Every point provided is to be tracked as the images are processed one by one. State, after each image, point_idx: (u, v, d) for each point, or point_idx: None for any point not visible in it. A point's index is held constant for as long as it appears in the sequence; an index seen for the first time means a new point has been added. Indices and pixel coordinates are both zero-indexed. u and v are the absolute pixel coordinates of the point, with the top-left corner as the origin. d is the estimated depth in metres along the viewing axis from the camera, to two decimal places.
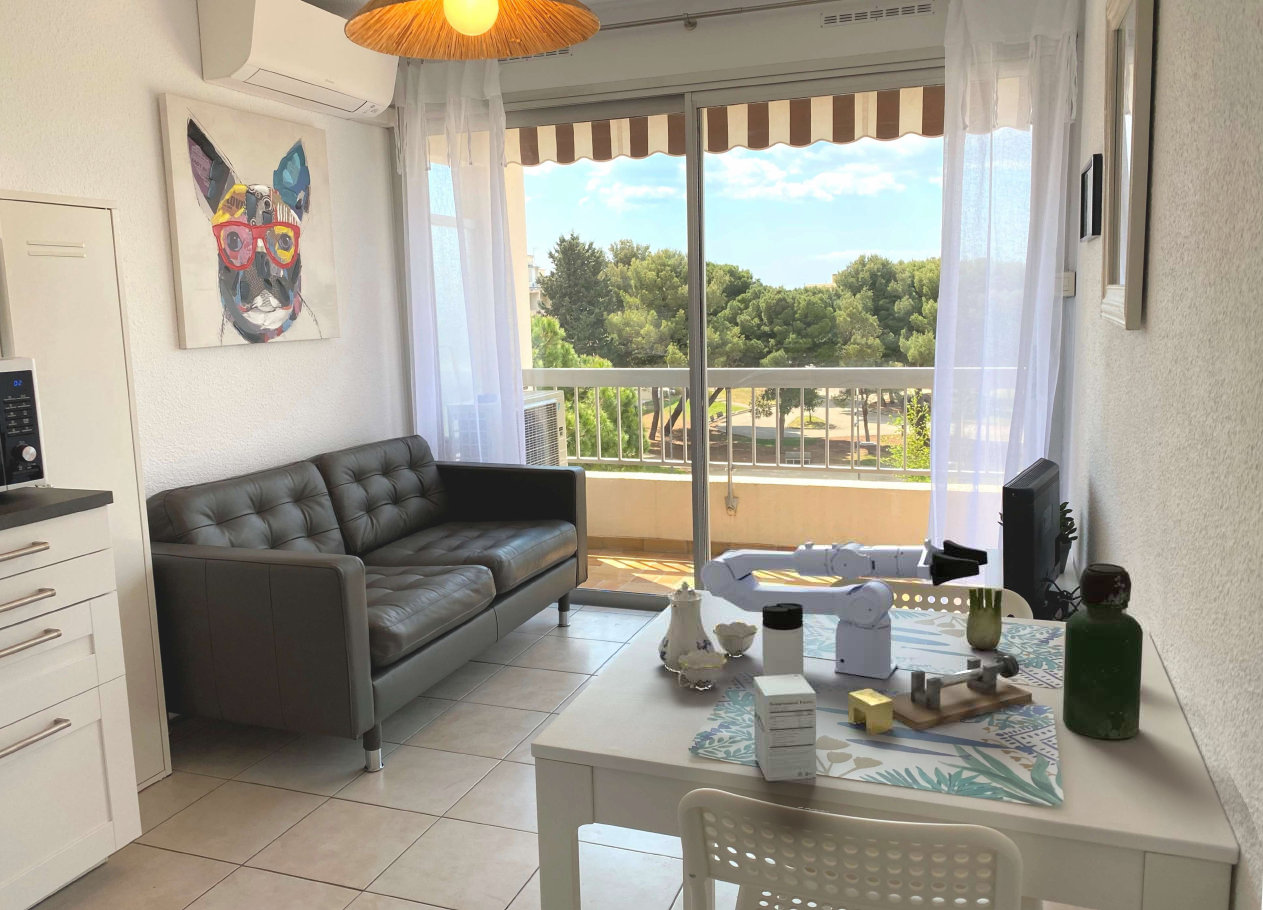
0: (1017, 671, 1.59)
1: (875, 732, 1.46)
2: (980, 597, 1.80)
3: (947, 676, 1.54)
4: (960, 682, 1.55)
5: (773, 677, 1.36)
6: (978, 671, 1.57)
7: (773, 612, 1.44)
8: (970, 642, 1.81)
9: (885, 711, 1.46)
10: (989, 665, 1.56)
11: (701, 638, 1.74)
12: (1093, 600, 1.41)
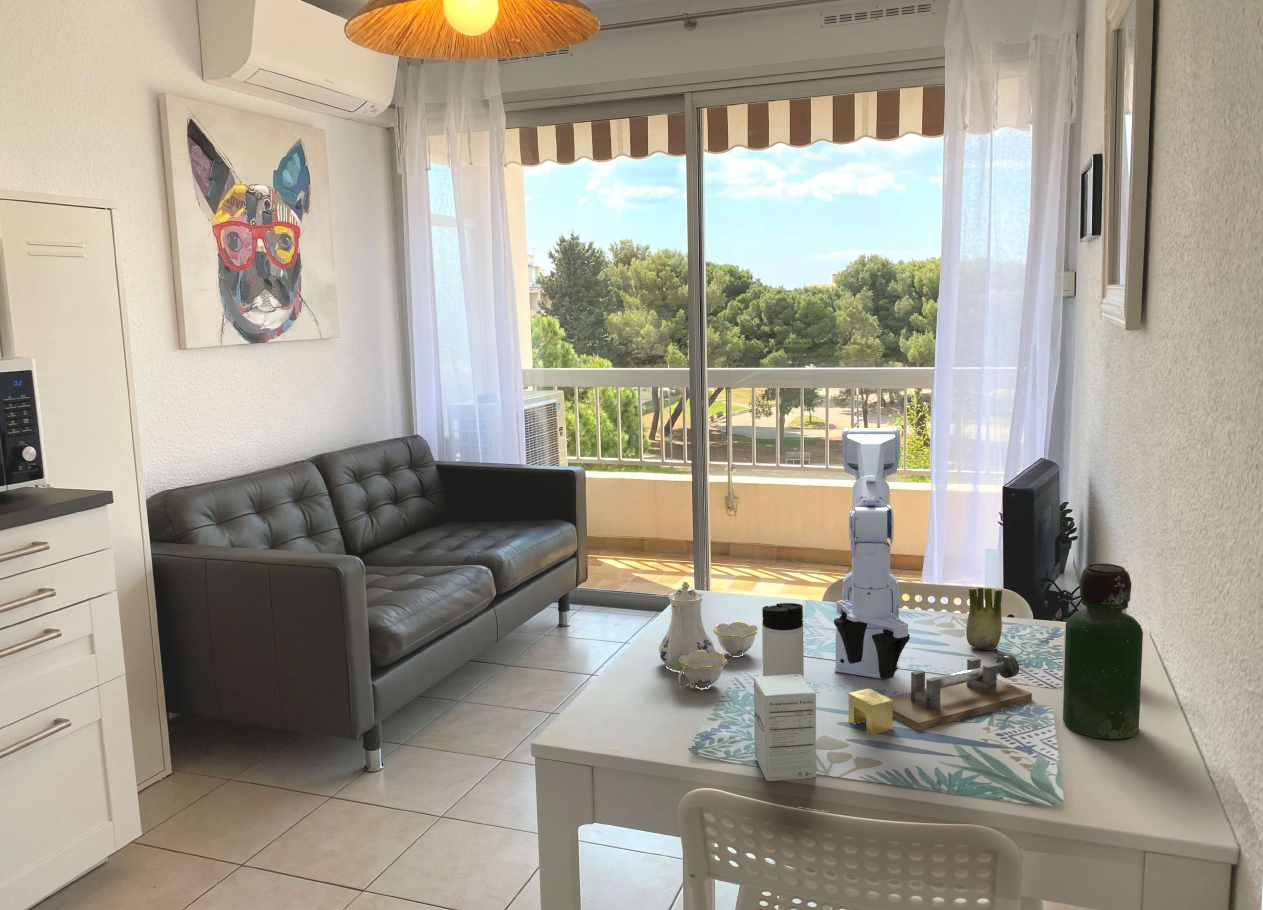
0: (1017, 671, 1.59)
1: (875, 732, 1.46)
2: (980, 597, 1.80)
3: (947, 676, 1.54)
4: (960, 682, 1.55)
5: (773, 677, 1.36)
6: (978, 671, 1.57)
7: (773, 612, 1.44)
8: (970, 642, 1.81)
9: (885, 711, 1.46)
10: (989, 665, 1.56)
11: (701, 638, 1.74)
12: (1093, 600, 1.41)
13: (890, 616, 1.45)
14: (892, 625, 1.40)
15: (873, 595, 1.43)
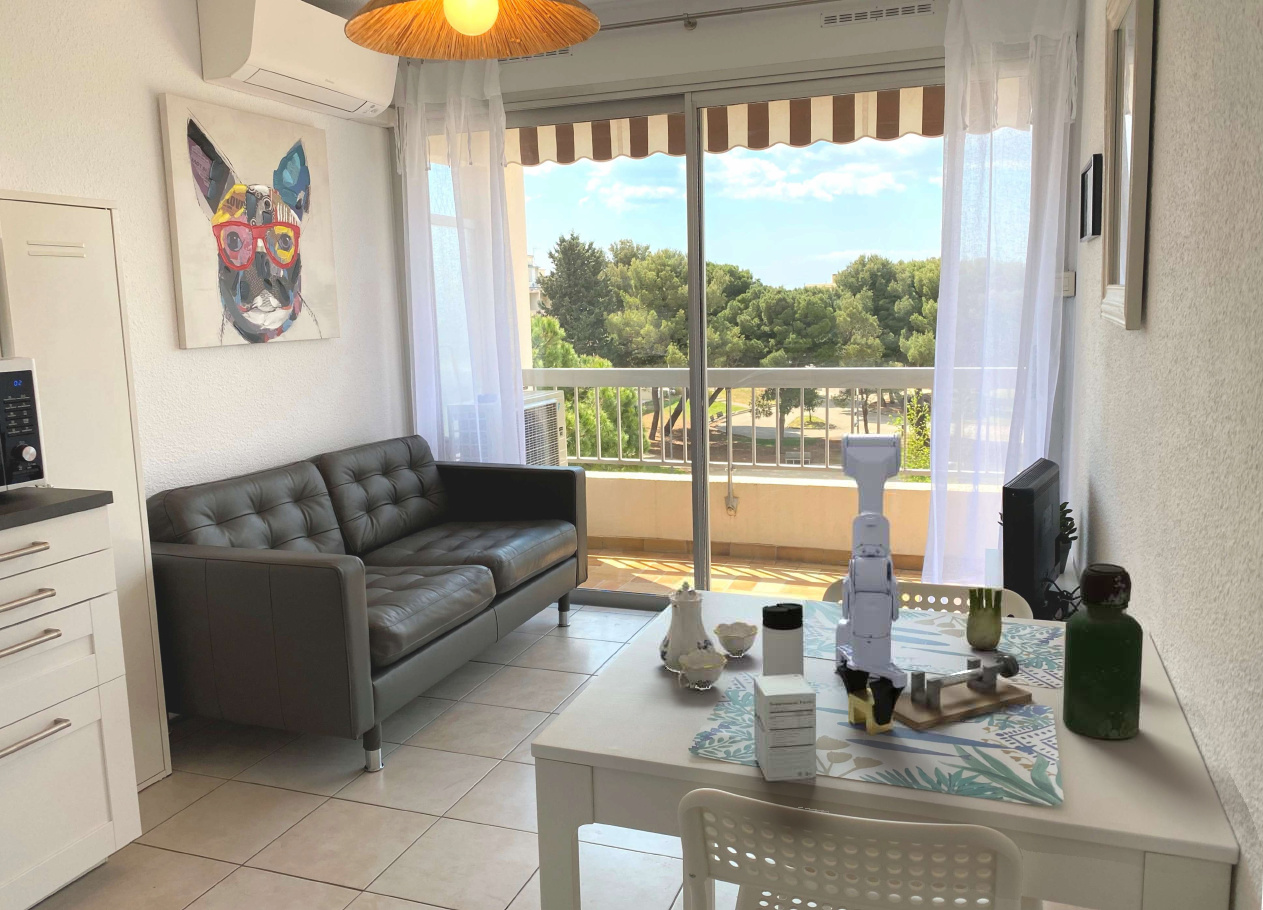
0: (1017, 671, 1.59)
1: (875, 732, 1.46)
2: (980, 597, 1.80)
3: (947, 676, 1.54)
4: (960, 682, 1.55)
5: (773, 677, 1.36)
6: (978, 671, 1.57)
7: (773, 612, 1.44)
8: (970, 642, 1.81)
9: None
10: (989, 665, 1.56)
11: (702, 638, 1.74)
12: (1093, 600, 1.41)
13: (890, 664, 1.46)
14: (892, 675, 1.41)
15: (873, 644, 1.44)
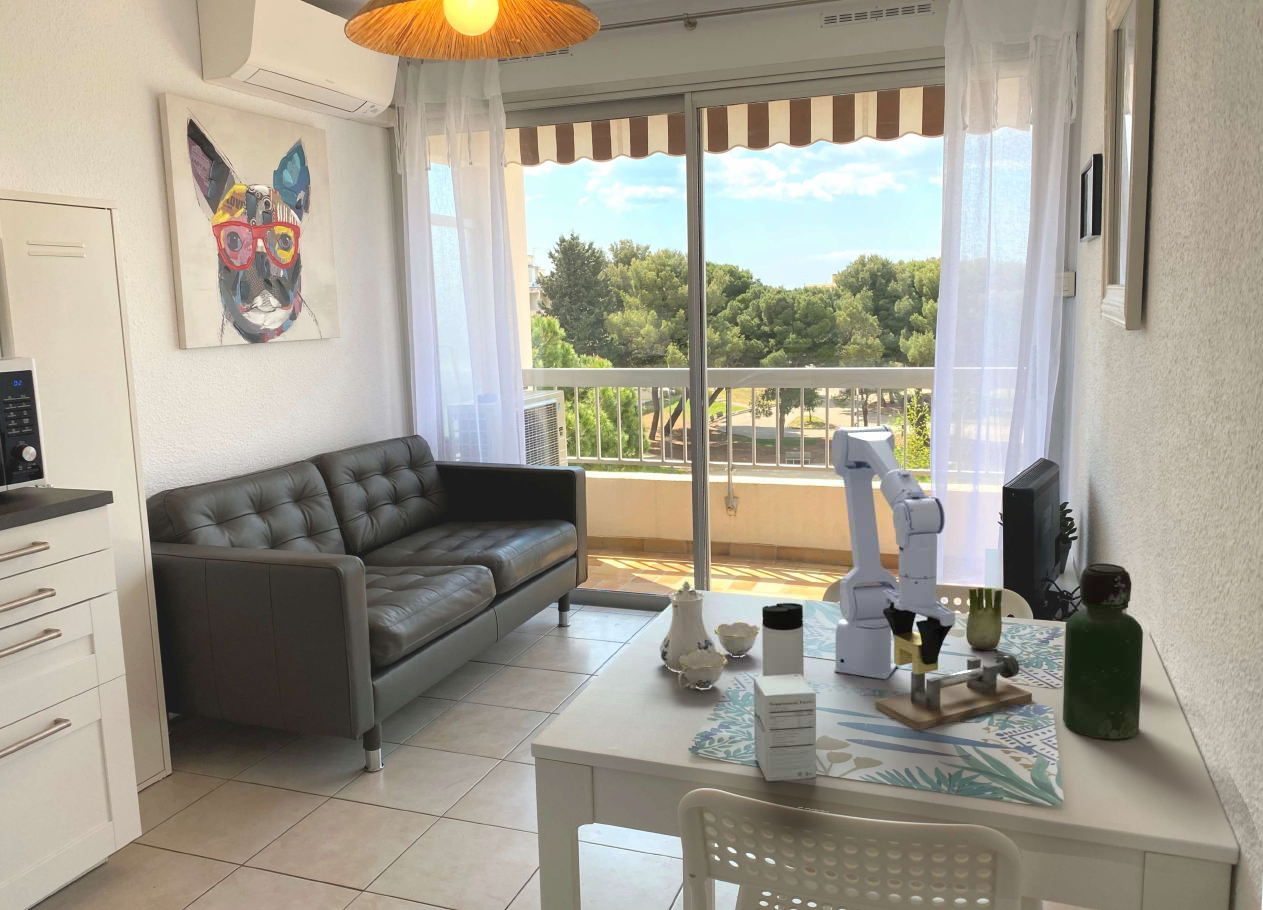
0: (1017, 671, 1.59)
1: (921, 672, 1.48)
2: (980, 597, 1.80)
3: (947, 676, 1.54)
4: (960, 682, 1.55)
5: (773, 677, 1.36)
6: (978, 671, 1.57)
7: (773, 612, 1.44)
8: (970, 642, 1.81)
9: None
10: (989, 665, 1.56)
11: (702, 638, 1.74)
12: (1093, 600, 1.41)
13: (936, 605, 1.48)
14: (939, 613, 1.44)
15: (920, 584, 1.47)
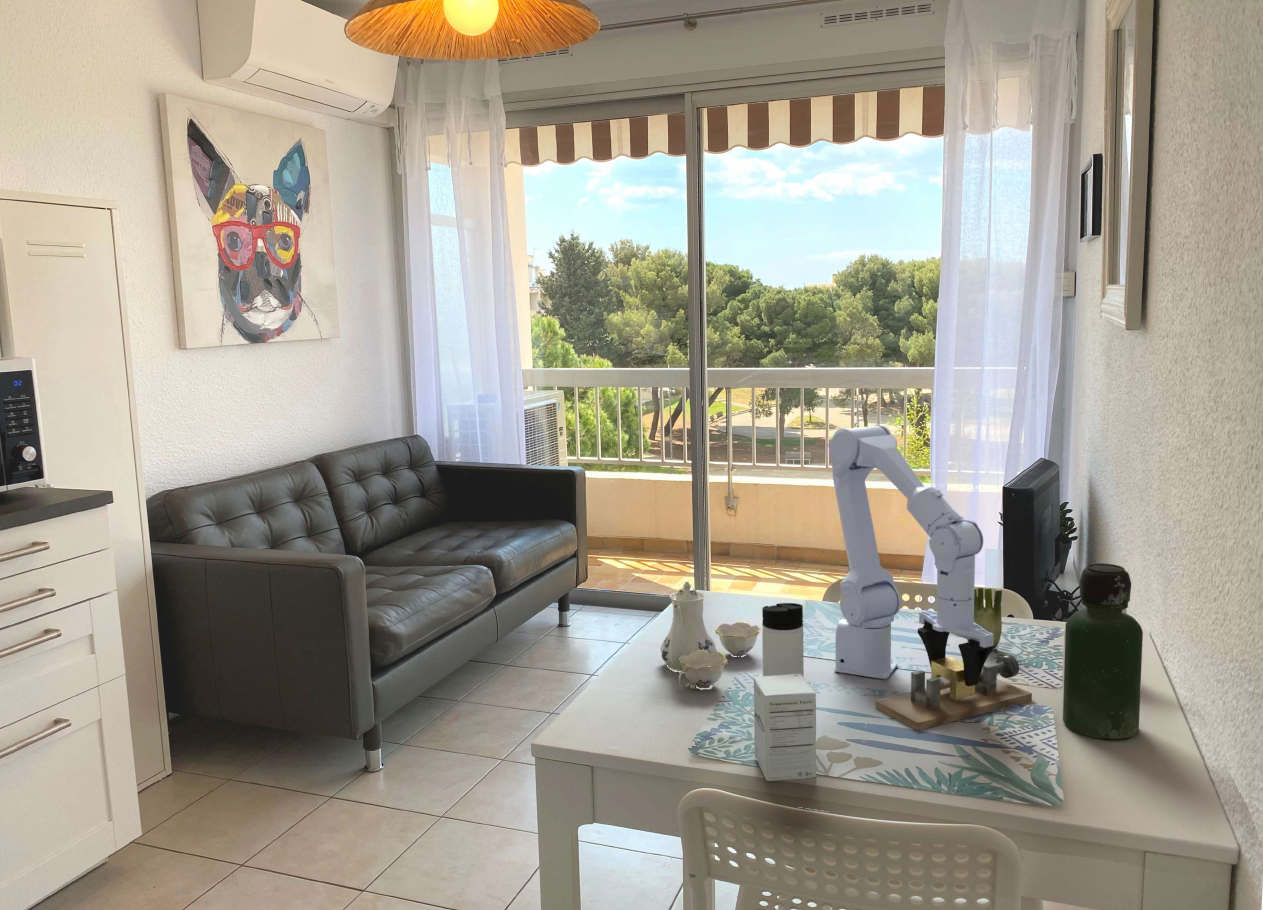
0: (1017, 671, 1.59)
1: (959, 697, 1.52)
2: (980, 597, 1.80)
3: None
4: None
5: (773, 677, 1.36)
6: None
7: (773, 612, 1.44)
8: None
9: None
10: (989, 665, 1.56)
11: (703, 638, 1.74)
12: (1093, 600, 1.41)
13: (974, 626, 1.52)
14: (979, 635, 1.48)
15: (959, 606, 1.51)
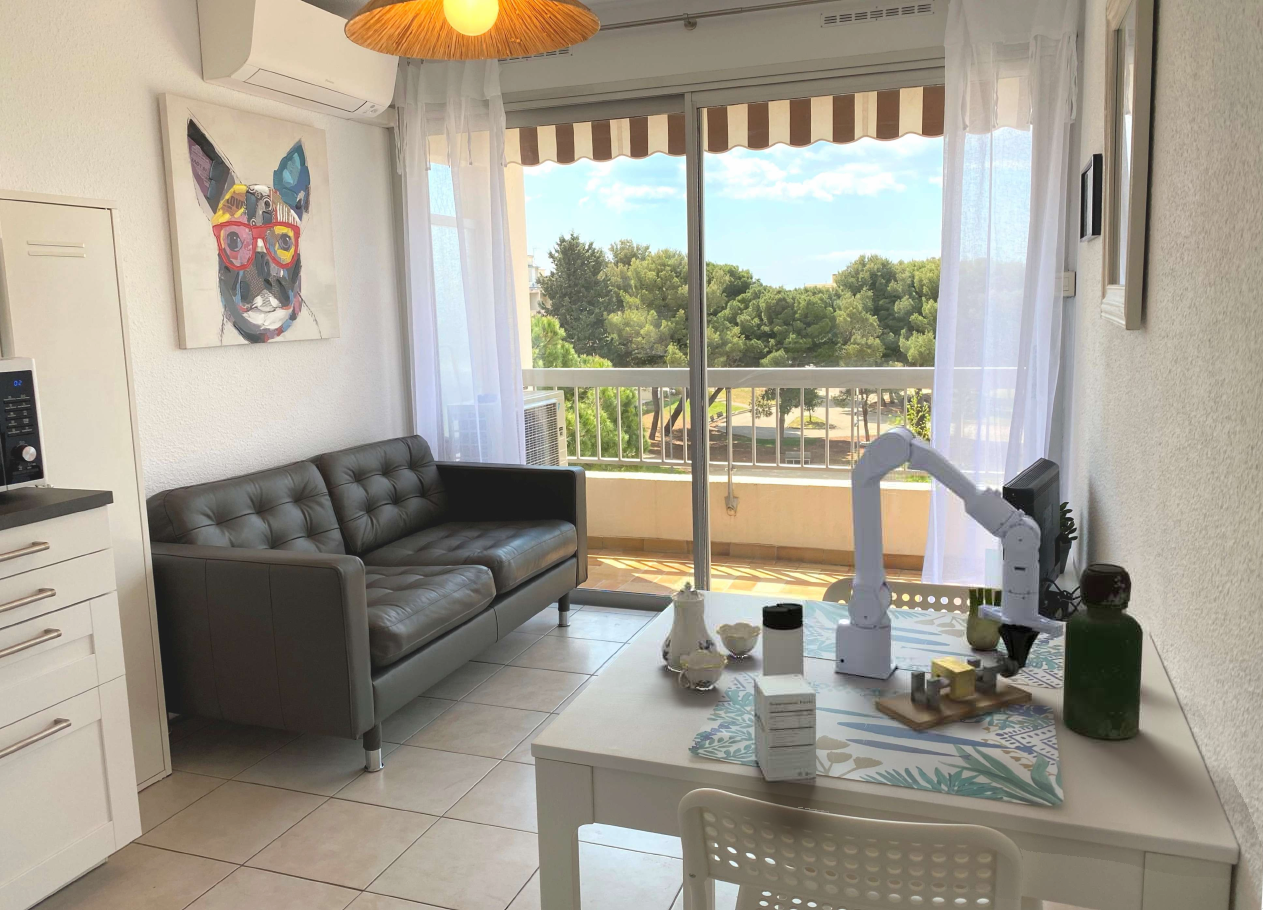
0: (1017, 671, 1.59)
1: (958, 698, 1.52)
2: (980, 597, 1.80)
3: None
4: None
5: (773, 677, 1.36)
6: (978, 671, 1.57)
7: (773, 612, 1.44)
8: (970, 642, 1.81)
9: (968, 678, 1.53)
10: (989, 665, 1.56)
11: (704, 638, 1.74)
12: (1093, 600, 1.41)
13: (1039, 617, 1.59)
14: (1050, 626, 1.54)
15: (1028, 599, 1.57)
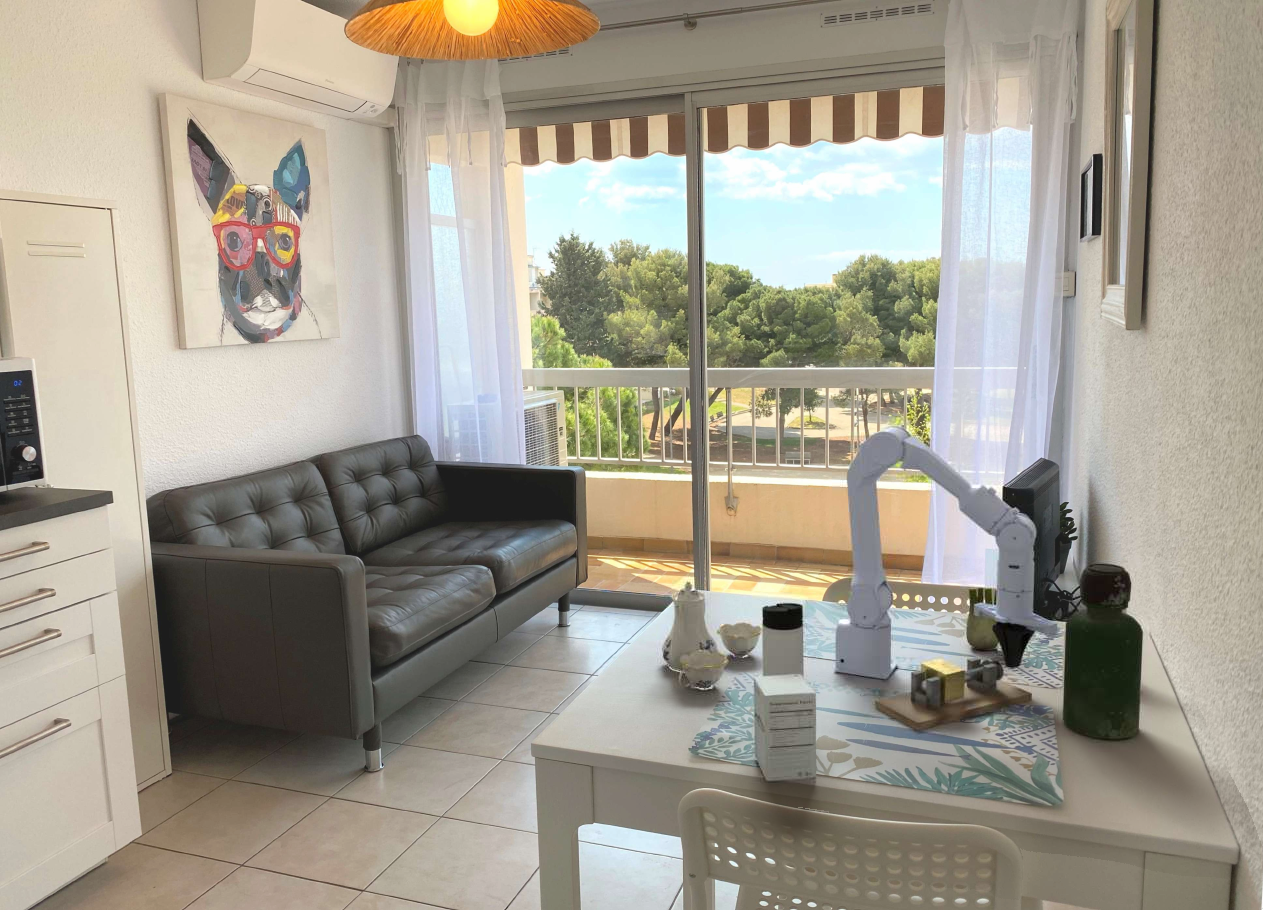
0: (1001, 675, 1.57)
1: (948, 700, 1.51)
2: (980, 597, 1.80)
3: None
4: None
5: (773, 677, 1.36)
6: None
7: (773, 612, 1.44)
8: (970, 642, 1.81)
9: (958, 680, 1.52)
10: (989, 665, 1.56)
11: (704, 638, 1.74)
12: (1093, 600, 1.41)
13: (1034, 616, 1.58)
14: (1043, 625, 1.54)
15: (1022, 598, 1.56)
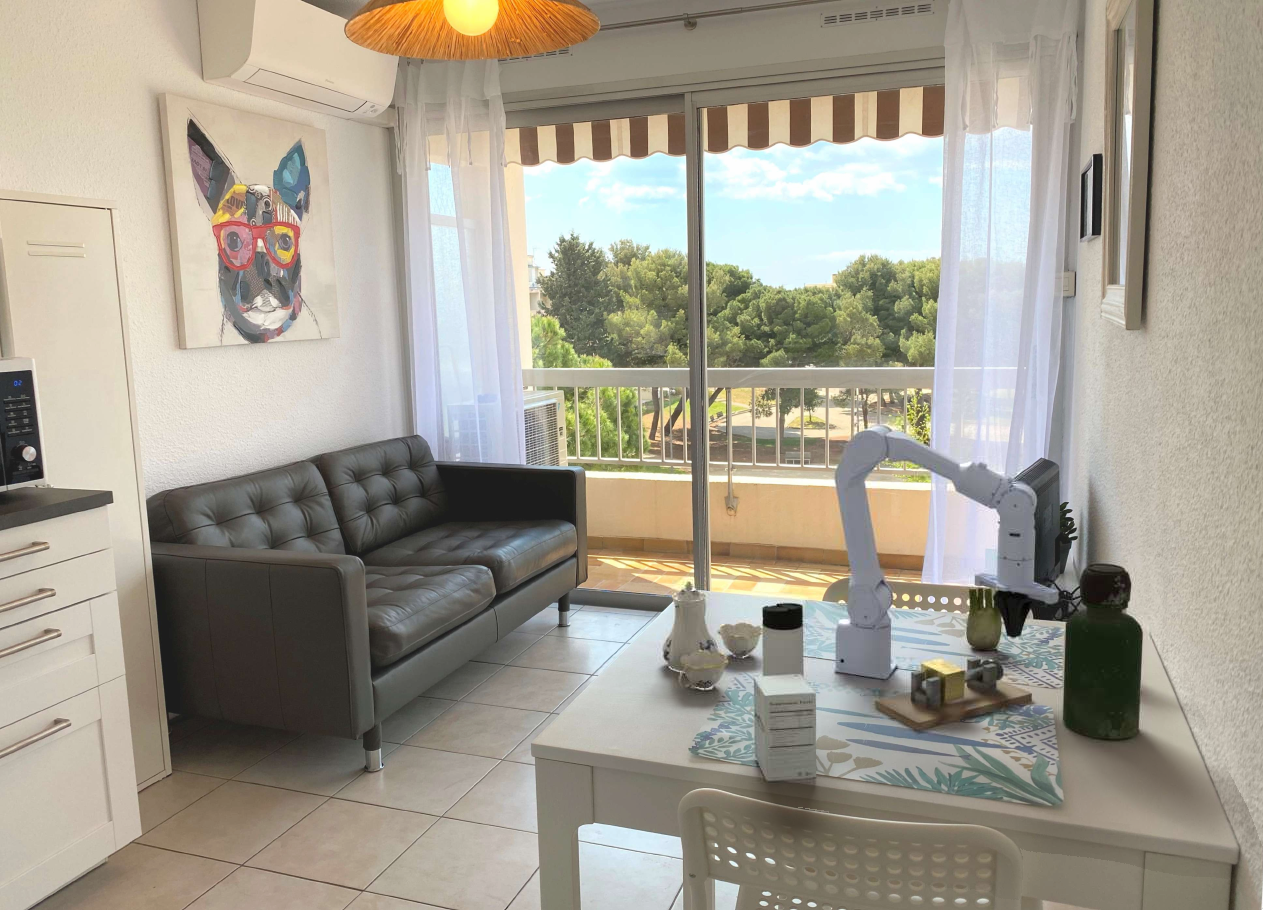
0: (1001, 675, 1.57)
1: (948, 700, 1.51)
2: (980, 597, 1.80)
3: None
4: None
5: (773, 677, 1.36)
6: None
7: (773, 612, 1.44)
8: (970, 642, 1.81)
9: (958, 680, 1.52)
10: (989, 665, 1.56)
11: (704, 638, 1.74)
12: (1093, 600, 1.41)
13: (1035, 585, 1.57)
14: (1045, 592, 1.53)
15: (1023, 566, 1.55)
